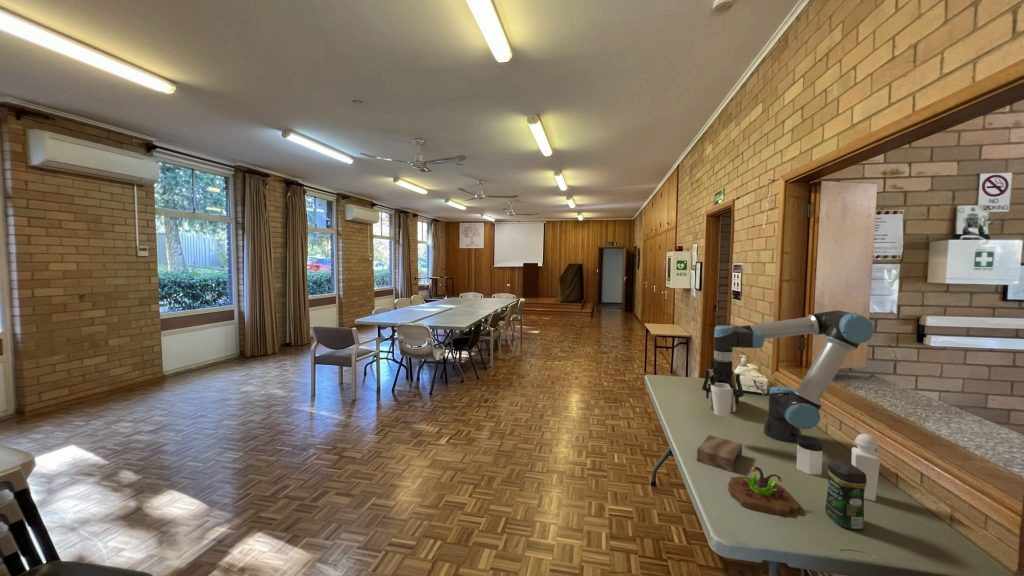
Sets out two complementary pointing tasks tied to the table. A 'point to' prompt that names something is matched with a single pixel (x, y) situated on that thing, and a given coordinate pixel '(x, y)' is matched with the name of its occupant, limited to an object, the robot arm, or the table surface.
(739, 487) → the plant
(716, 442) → the walnut shelf stand
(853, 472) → the coffee jar
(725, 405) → the foam cup
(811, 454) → the jar
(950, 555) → the table surface
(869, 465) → the soap dispenser
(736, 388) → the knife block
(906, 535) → the table surface
